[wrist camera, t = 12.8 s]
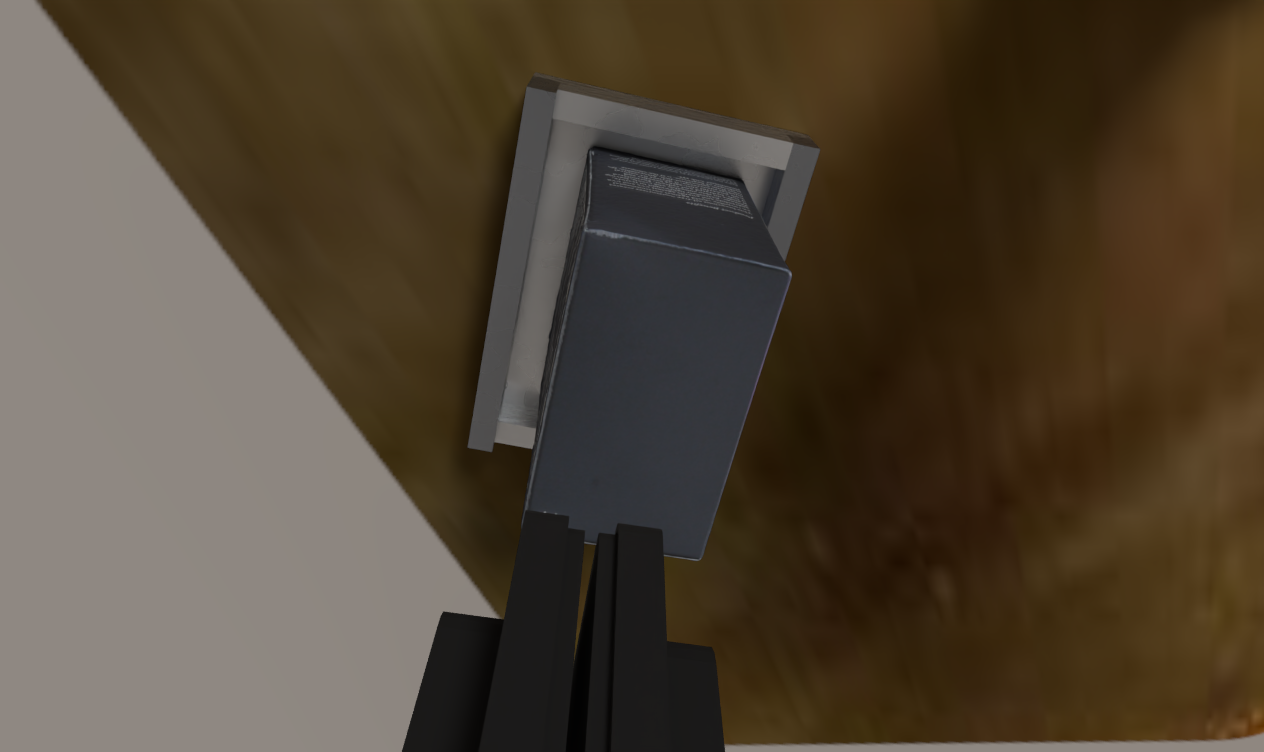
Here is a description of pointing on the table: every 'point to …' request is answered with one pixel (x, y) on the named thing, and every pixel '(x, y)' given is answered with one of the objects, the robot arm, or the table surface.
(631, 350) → the small box
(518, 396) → the rail seat
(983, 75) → the table surface
